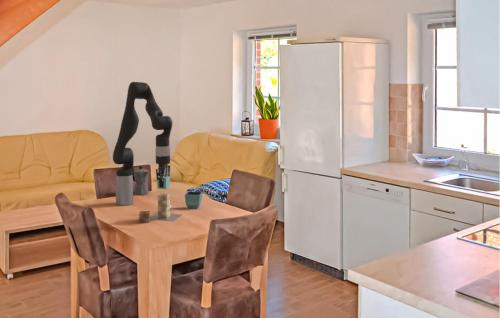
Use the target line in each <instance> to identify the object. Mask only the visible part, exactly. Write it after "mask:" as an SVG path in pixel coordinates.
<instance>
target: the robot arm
mask: <svg viewBox="0 0 500 318" xmlns="http://www.w3.org/2000/svg"><path fill="white" fill-rule="evenodd" d="M136 99H137V100H145V102H146V103H145V108H144V109H145V111H146V114H147V115H148V117H149V119H150V122H151V126H152V129H153V130H156V131H162V133H160V134H157V135H156V136H155V164H156V165H157V166H158V167H157V168H156V169H155V175H156V176H155V177H156V181H157V180H159V187H160V188H163V187H164V181H163V180H164V176H170V177H171V175H170V174H171V165H169V164H171V148H170V138H171V133H172V128H173V119H172V117H171V116H169V115H164V112H163V110H162V109H161V107H160V106H159V105H158V103H157V102H156V98H155V97H154V93H153V91H152V89H151V87H150V85H149V84H148V83H147V82H143V81H141V82H140V81H131V82H130V83H129V84H128V88H127V95H126V102H125V107H124V113H123V116H122V120H121V124H120V130H119V133H118V137H117V141H116V144H115V146H114V149H113V152H112V161H113V163H114V164H116V165H122V166H121V167H120V168H118V169H117V170H116V172H115V173H116V175H115V176H116V188H115V205H119V206H131V205H134V181H133V169H134V158H135V157H134V156H135V155H134V152H133V149H132V148H131V147H126V146H127V145H128V143H129V142H130V140H132V138H133V137H134V136H135V134H136V133H137V131H138V127H139V124H140V119H139V116H138V113H137V111H136V107H135V102H136Z"/></svg>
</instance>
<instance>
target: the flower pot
mask: <svg viewBox="0 0 500 318" xmlns="http://www.w3.org/2000/svg"><path fill="white" fill-rule="evenodd" d="M184 199H185V205H186V207H187V209H188V210H198V209H200V206H201V204H202V201H203V200H202V199H203V192H202V191H187V192H185V194H184Z"/></svg>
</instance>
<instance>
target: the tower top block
mask: <svg viewBox="0 0 500 318" xmlns="http://www.w3.org/2000/svg"><path fill="white" fill-rule="evenodd" d="M170 195H171V194H170V193H159V194H158V195H157V208H158V207H168V206H169V205H170V206H171V201H170V200H171V199H170Z"/></svg>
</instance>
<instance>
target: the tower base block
mask: <svg viewBox="0 0 500 318" xmlns="http://www.w3.org/2000/svg"><path fill="white" fill-rule="evenodd" d="M157 213H158V218H168V217H170V214H171V204H170V205H169V206H168V207H158V206H157Z"/></svg>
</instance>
